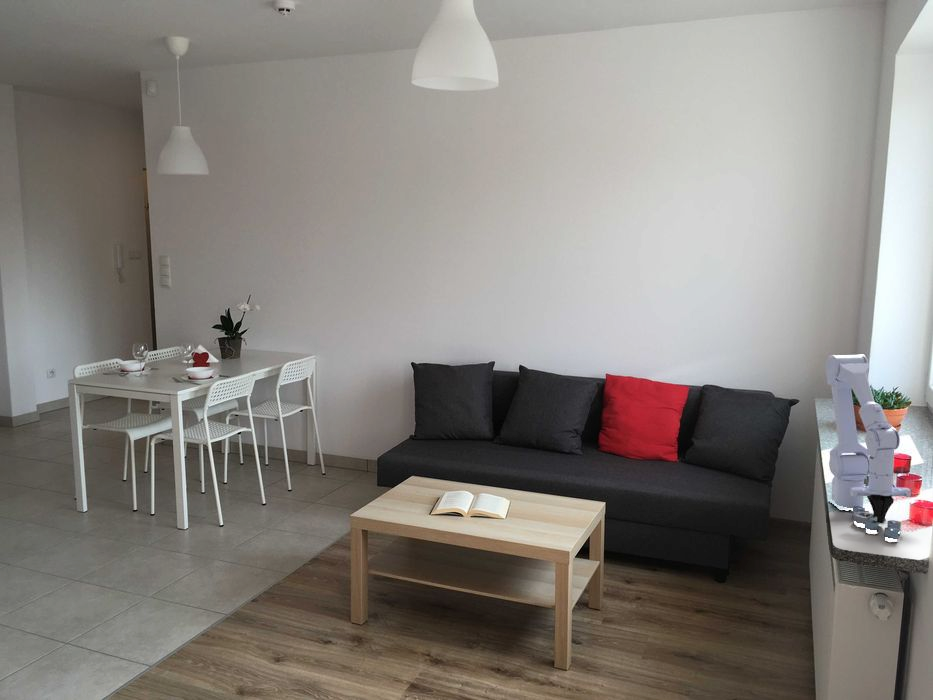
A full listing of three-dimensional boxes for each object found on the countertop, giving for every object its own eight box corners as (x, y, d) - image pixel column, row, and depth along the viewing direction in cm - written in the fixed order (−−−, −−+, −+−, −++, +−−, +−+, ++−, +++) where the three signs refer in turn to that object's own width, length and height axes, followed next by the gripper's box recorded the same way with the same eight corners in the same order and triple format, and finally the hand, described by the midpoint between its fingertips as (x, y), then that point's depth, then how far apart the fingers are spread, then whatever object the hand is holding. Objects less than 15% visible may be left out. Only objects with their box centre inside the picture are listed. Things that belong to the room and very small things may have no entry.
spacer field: (846, 516, 211) (847, 506, 211) (882, 516, 210) (883, 506, 210) (876, 542, 192) (877, 531, 192) (916, 543, 191) (917, 531, 191)
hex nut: (850, 521, 207) (851, 511, 207) (869, 521, 207) (870, 511, 206) (859, 529, 202) (859, 518, 201) (879, 529, 201) (879, 518, 201)
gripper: (858, 477, 199) (856, 527, 201) (917, 477, 197) (914, 527, 199) (847, 469, 206) (846, 518, 207) (904, 469, 204) (902, 518, 206)
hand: (879, 522), depth 204 cm, fingers closed
